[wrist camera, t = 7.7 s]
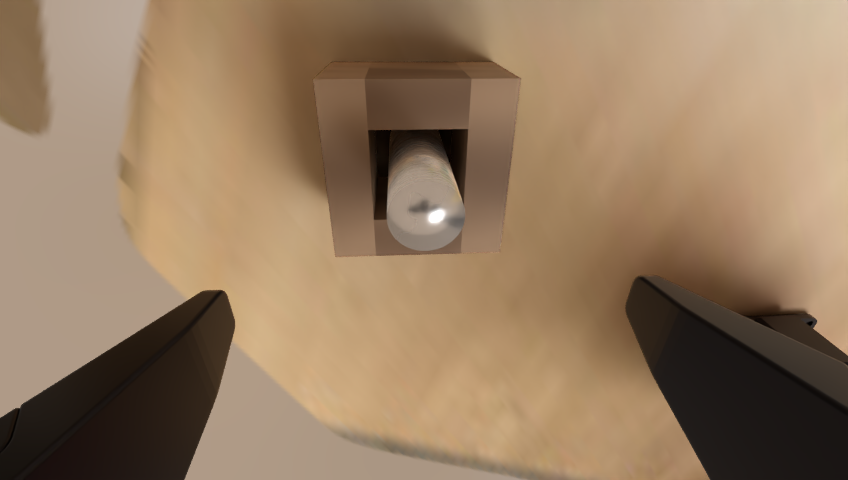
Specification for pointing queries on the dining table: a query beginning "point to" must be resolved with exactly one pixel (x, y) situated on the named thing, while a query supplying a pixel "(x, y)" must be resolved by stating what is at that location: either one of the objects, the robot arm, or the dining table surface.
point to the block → (415, 110)
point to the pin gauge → (422, 191)
